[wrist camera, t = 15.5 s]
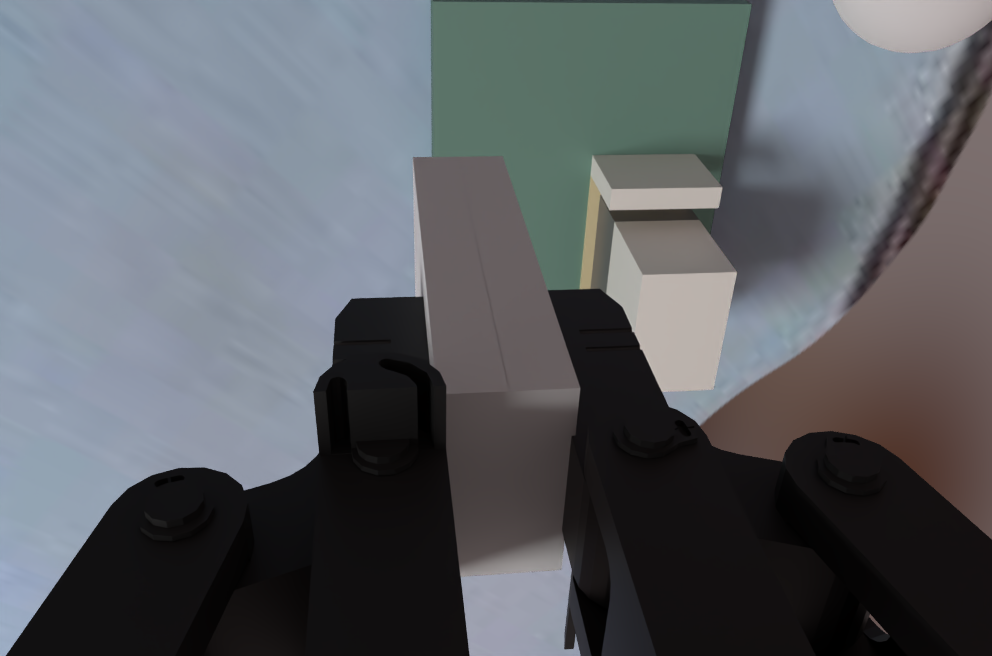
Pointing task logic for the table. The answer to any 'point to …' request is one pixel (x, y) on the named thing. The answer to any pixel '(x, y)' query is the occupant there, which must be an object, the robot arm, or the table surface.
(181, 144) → the table surface
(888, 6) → the light bulb
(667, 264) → the plug
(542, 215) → the header board
